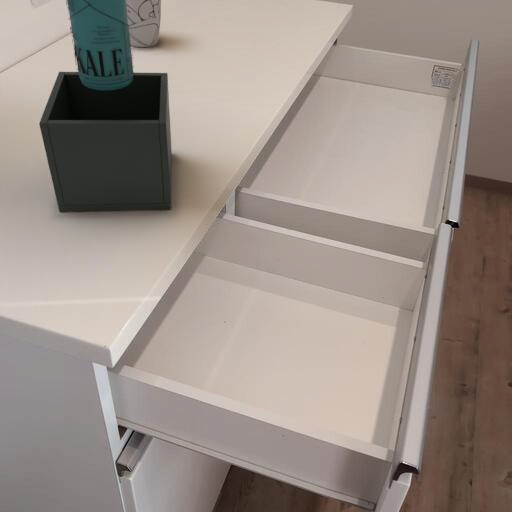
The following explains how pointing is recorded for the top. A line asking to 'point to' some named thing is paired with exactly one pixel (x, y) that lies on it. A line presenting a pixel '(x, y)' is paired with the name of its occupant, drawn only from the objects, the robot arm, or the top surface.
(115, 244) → the top surface
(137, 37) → the mug
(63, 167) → the bin
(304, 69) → the top surface
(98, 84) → the beverage bottle
